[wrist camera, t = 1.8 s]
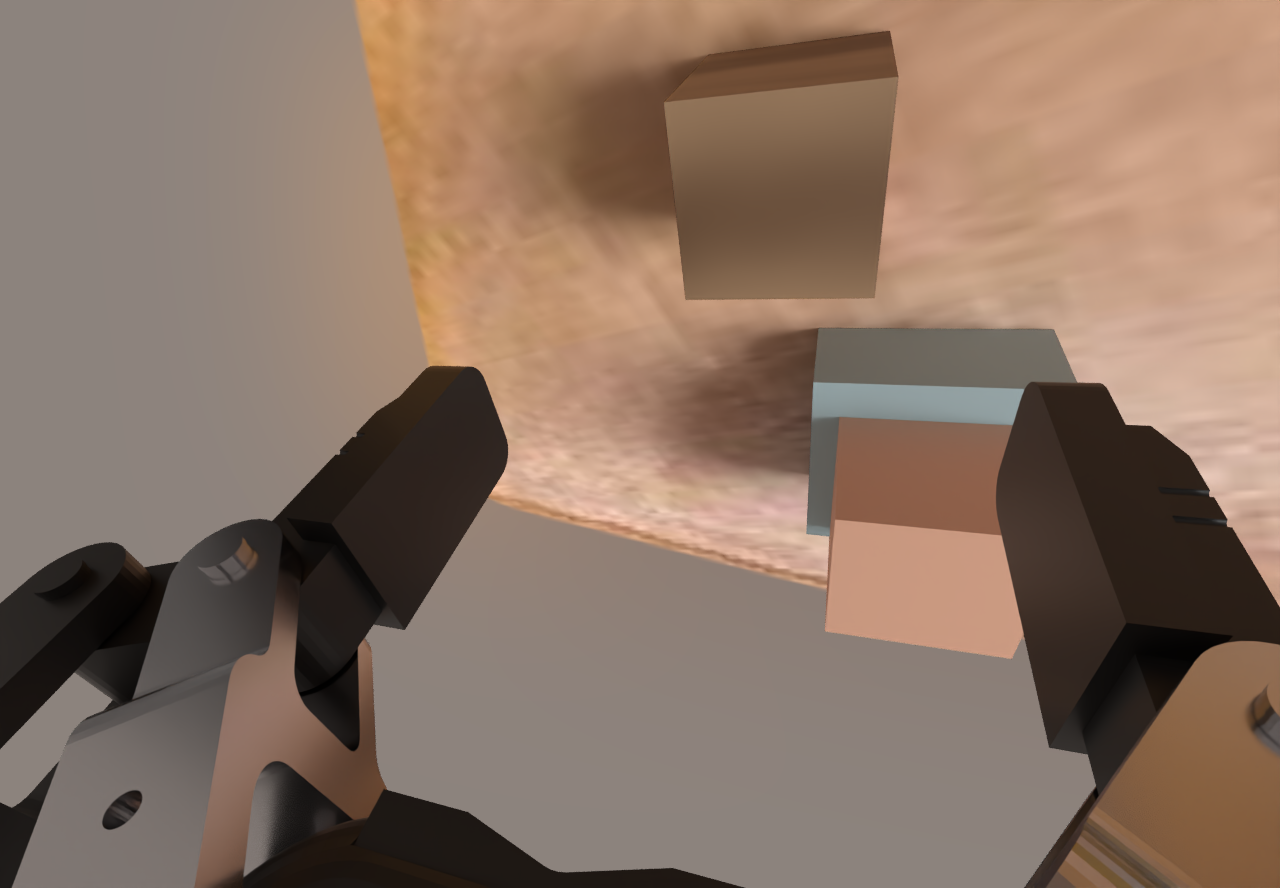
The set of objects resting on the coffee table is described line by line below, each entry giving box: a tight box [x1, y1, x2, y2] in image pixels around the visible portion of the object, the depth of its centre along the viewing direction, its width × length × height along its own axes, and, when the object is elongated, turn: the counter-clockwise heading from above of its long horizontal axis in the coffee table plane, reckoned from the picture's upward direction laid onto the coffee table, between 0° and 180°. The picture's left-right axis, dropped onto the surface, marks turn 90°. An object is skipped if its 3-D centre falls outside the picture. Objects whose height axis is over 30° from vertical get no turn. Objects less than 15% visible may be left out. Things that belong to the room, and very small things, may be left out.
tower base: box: [806, 328, 1077, 536], centre depth 24 cm, size 8×8×4 cm
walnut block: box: [664, 31, 898, 300], centre depth 17 cm, size 5×5×6 cm
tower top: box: [825, 417, 1023, 659], centre depth 21 cm, size 6×6×5 cm
